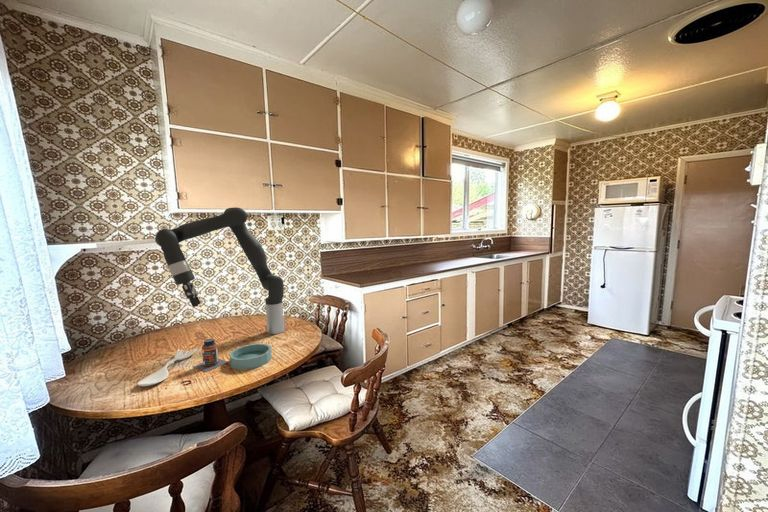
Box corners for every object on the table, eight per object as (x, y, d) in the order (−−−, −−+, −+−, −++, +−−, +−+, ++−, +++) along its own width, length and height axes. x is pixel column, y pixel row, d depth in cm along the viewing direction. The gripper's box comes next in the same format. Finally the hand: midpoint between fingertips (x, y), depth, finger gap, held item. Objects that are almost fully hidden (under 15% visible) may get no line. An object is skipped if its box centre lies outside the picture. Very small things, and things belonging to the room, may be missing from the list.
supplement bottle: (203, 368, 126) (200, 343, 125) (203, 363, 131) (200, 339, 130) (218, 365, 129) (216, 340, 128) (218, 360, 134) (216, 336, 133)
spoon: (198, 353, 143) (198, 346, 143) (157, 389, 112) (156, 380, 111) (179, 354, 142) (178, 348, 142) (131, 391, 110) (130, 383, 110)
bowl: (255, 350, 145) (254, 341, 145) (279, 356, 137) (278, 347, 137) (222, 364, 130) (221, 354, 130) (247, 373, 122) (246, 362, 122)
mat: (215, 357, 137) (215, 357, 137) (228, 362, 132) (228, 361, 132) (192, 367, 128) (192, 366, 128) (206, 372, 124) (206, 371, 124)
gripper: (188, 269, 126) (204, 303, 128) (193, 269, 139) (207, 300, 140) (168, 275, 123) (185, 310, 125) (175, 275, 135) (190, 307, 137)
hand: (197, 305), depth 132 cm, fingers open, 8 cm apart
